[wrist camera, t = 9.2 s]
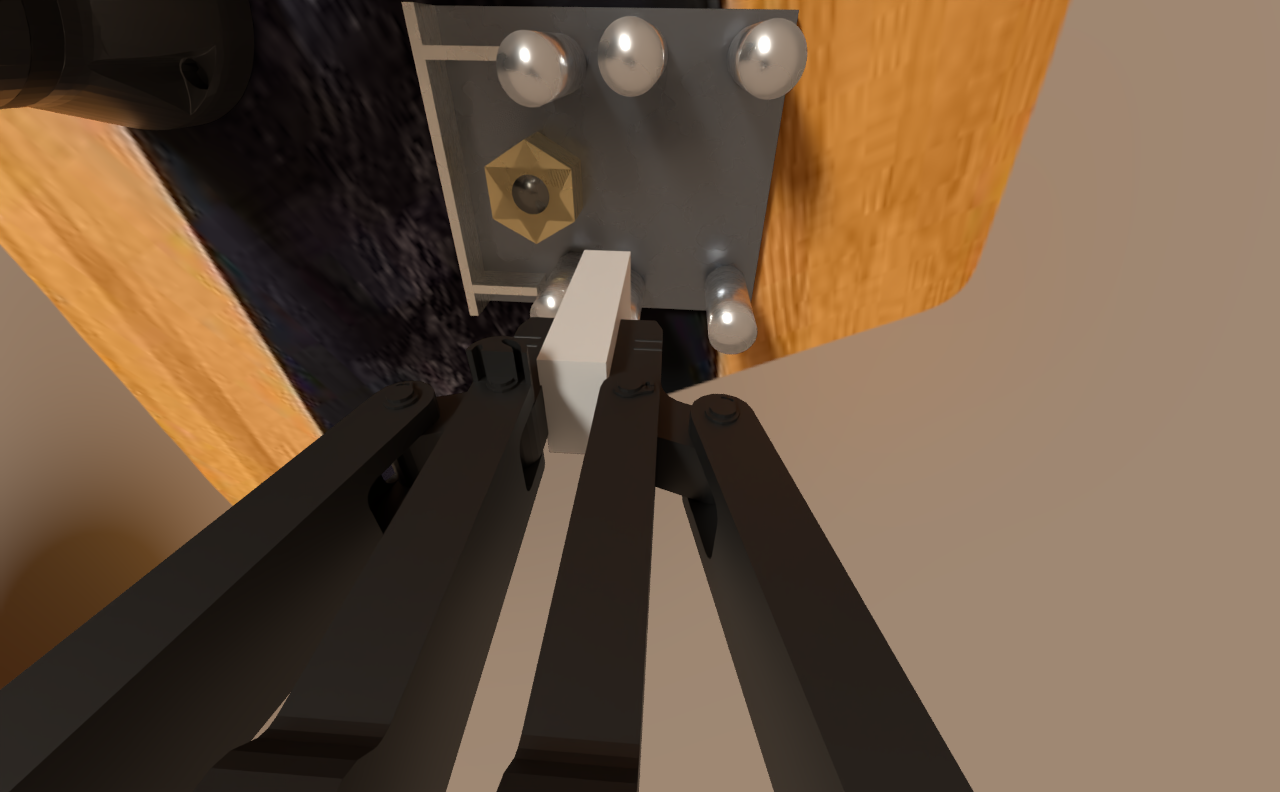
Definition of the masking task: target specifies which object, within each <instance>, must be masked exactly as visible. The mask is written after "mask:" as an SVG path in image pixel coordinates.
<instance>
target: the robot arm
mask: <svg viewBox="0 0 1280 792" xmlns="http://www.w3.org/2000/svg"><path fill="white" fill-rule="evenodd" d="M253 59H254V29H253V20H252V14H251V8H250V4H249V0H0V109H6V108H20V107H31V108H36V109H41V110H46V111H51V112H56V113H61V114H66V115H71V116H76V117H81V118H86V119H91V120H96V121H101V122H106V123H111V124H116V125H121V126H126V127H131V128H137V129H145V130H171V129H178V128H184V127H191V126H197V125H202V124H207V123H210V122H212V121H215V120H217V119H219V118H221V117H222V116H224V115H225V114H227V113H228V112H229V111H230V110H232V109H233V107H234V106H235V105H236V104H237V103H238V102H239V100H240V99H241V97H242V95H243V94H244V92H245V90H246V87H247V85H248V82H249V79H250V76H251V72H252V67H253ZM662 339H663V330H662V328H661V327H660V325H659V324H658V323H657V321H651V320H631V252H630V251H601V250H584V252H583V254H582V257H581V259H580V261H579V263H578V266H577V268H576V270H575V273H574V275H573V277H572V279H571V282H570V284H569V286H568V289H567V291H566V293H565V295H564V298H563V300H562V302H561V305H560V307H559V309H558V311H557V314H556V316H555V318H546V317H531V318H530V319H528V320H527V321H525V322H524V323H522V324H521V325H520V326H519V328H518V330H517V331H516V333H515V335H514V337H509V336H493V337H489V338H485V339H481V340H479V341H477V342H475V343H473V344H471V345H470V346H469V347H468V348H467V349H466V354H467V358H468V362H469V366H470V370H471V374H472V379H473V383H472V385H471V386H470V388H469V390H468V391H467V392H464V393H459V394H453V395H447V396H440V397H436V395H435V392H434V390H433V388H432V387H431V386H430V385H429V384H426V383H424V382H419V381H405V382H399V383H396V384H393V385H390V386H387V387H385V388H383V389H382V390H380V391H378V392H377V393H375V394H374V395H373V396H371V397H370V398H369V399H368V400H366V401H365V402H364V403H363V404H361V405H360V406H359V407H358V408H356V409H355V410H354V411H353V412H351V413H350V414H349V415H347V416H346V417H345V418H344V419H342V420H341V421H340V422H339V423H337V424H336V425H335V426H334V427H332V428H331V429H330V430H328V431H327V432H326V433H325V434H323V435H322V436H321V437H320V438H318V439H317V440H316V441H315V442H313V443H312V444H311V445H310V446H308V447H307V448H306V449H304V450H303V451H302V452H301V453H299V454H298V455H297V456H296V457H294V458H293V459H292V460H291V461H289V462H288V463H287V464H286V465H284V466H283V467H282V468H280V469H279V470H278V471H277V472H275V473H274V474H273V475H272V476H270V477H269V478H268V479H267V480H265V481H264V482H263V483H261V484H260V485H259V486H258V487H256V488H255V489H254V490H253V491H251V492H250V493H249V494H248V495H246V496H245V497H244V498H243V499H241V500H240V501H239V502H237V503H236V504H235V505H234V506H232V507H231V508H230V509H229V510H227V511H226V512H225V513H224V514H222V515H221V516H220V517H218V518H217V519H216V520H215V521H213V522H212V523H211V524H210V525H208V526H207V527H206V528H205V529H203V530H202V531H201V532H200V533H198V534H197V535H196V536H194V537H193V538H192V539H191V540H189V541H188V542H187V543H186V544H185V545H183V546H182V547H181V548H179V549H178V550H177V551H175V553H173V554H172V555H170V556H169V557H168V558H167V559H165V560H164V561H163V562H162V563H160V564H159V565H158V566H157V567H155V568H154V569H153V570H151V571H150V572H149V573H148V574H146V575H145V576H144V577H143V578H141V579H140V580H139V581H138V582H136V583H135V584H134V585H133V586H132V587H130V588H129V589H128V590H126V591H125V592H124V593H122V594H121V595H120V596H119V597H118V598H116V599H115V600H114V601H112V602H111V603H110V604H109V605H107V606H106V607H105V608H103V609H102V610H101V611H100V612H98V613H97V614H96V615H95V616H93V617H92V618H91V619H90V620H88V621H87V622H86V623H85V624H83V625H82V626H81V627H80V628H78V629H77V630H76V631H74V632H73V633H72V634H71V635H69V636H68V637H67V638H66V639H64V640H63V641H62V642H60V643H59V644H58V645H57V646H55V647H54V648H53V649H52V650H50V651H49V652H48V653H47V654H45V655H44V656H43V657H41V658H40V659H39V660H38V661H37V662H35V663H34V664H33V665H31V666H30V667H29V668H28V669H26V670H25V671H24V672H23V673H21V674H20V675H19V676H17V677H16V678H15V679H14V680H12V681H11V682H10V683H9V684H7V685H6V686H5V687H4V688H2V689H1V690H0V792H446V789H447V786H448V783H449V779H450V776H451V773H452V770H453V766H454V763H455V760H456V757H457V753H458V750H459V747H460V743H461V740H462V737H463V734H464V730H465V727H466V724H467V720H468V717H469V714H470V711H471V707H472V704H473V701H474V697H475V694H476V691H477V688H478V684H479V681H480V678H481V674H482V671H483V668H484V665H485V661H486V658H487V655H488V652H489V648H490V645H491V641H492V638H493V635H494V632H495V629H496V625H497V622H498V619H499V615H500V612H501V609H502V605H503V602H504V599H505V595H506V592H507V589H508V586H509V583H510V579H511V576H512V573H513V569H514V566H515V563H516V560H517V556H518V553H519V550H520V547H521V543H522V540H523V537H524V533H525V530H526V527H527V523H528V520H529V517H530V514H531V510H532V507H533V504H534V500H535V497H536V494H537V491H538V487H539V484H540V481H541V478H542V474H543V471H544V467H545V460H544V453H543V448H544V446H545V443H546V439H547V438H548V445H549V452H554V453H573V454H585V456H584V461H583V465H582V469H581V474H580V478H579V483H578V488H577V492H576V496H575V500H574V505H573V509H572V514H571V518H570V522H569V527H568V531H567V536H566V540H565V545H564V549H563V554H562V558H561V562H560V567H559V571H558V576H557V580H556V584H555V589H554V593H553V598H552V602H551V607H550V611H549V615H548V620H547V624H546V629H545V633H544V637H543V642H542V646H541V651H540V655H539V659H538V664H537V668H536V673H535V677H534V682H533V686H532V691H531V696H530V699H529V704H528V708H527V713H526V717H525V721H524V726H523V730H522V735H521V738H520V742H519V746H518V749H517V752H516V755H515V757H514V759H513V760H512V762H511V763H510V765H509V766H508V768H507V769H506V771H505V772H504V774H503V777H502V779H501V782H500V784H499V787H498V789H497V792H639V778H640V758H641V741H642V740H641V739H642V722H643V703H644V684H645V667H646V648H647V630H648V611H649V592H650V574H651V556H652V537H653V518H654V500H655V487H658V488H661V489H664V490H667V491H670V492H673V493H676V494H679V495H682V500H683V504H684V508H685V511H686V514H687V517H688V520H689V523H690V527H691V530H692V532H693V536H694V539H695V542H696V546H697V549H698V552H699V555H700V558H701V561H702V565H703V568H704V571H705V574H706V577H707V581H708V584H709V587H710V590H711V593H712V596H713V599H714V603H715V606H716V609H717V612H718V615H719V618H720V622H721V625H722V628H723V631H724V634H725V638H726V641H727V644H728V647H729V650H730V653H731V656H732V660H733V663H734V666H735V669H736V672H737V676H738V679H739V682H740V685H741V688H742V691H743V695H744V698H745V701H746V704H747V707H748V710H749V713H750V716H751V720H752V723H753V726H754V729H755V733H756V736H757V739H758V742H759V745H760V749H761V752H762V755H763V758H764V761H765V764H766V768H767V771H768V774H769V777H770V780H771V783H772V787H773V789H774V792H973V790H972V788H971V787H970V785H969V783H968V781H967V780H966V778H965V776H964V774H963V773H962V771H961V769H960V767H959V766H958V764H957V762H956V760H955V759H954V757H953V756H952V754H951V752H950V750H949V748H948V747H947V745H946V743H945V741H944V740H943V738H942V737H941V735H940V733H939V731H938V730H937V728H936V726H935V724H934V722H933V721H932V719H931V717H930V716H929V714H928V712H927V710H926V709H925V707H924V705H923V704H922V702H921V700H920V698H919V697H918V695H917V693H916V691H915V690H914V688H913V686H912V685H911V683H910V681H909V679H908V678H907V676H906V674H905V672H904V671H903V669H902V667H901V666H900V664H899V662H898V660H897V659H896V657H895V655H894V653H893V652H892V650H891V648H890V646H889V645H888V643H887V641H886V640H885V638H884V636H883V634H882V633H881V631H880V629H879V627H878V626H877V624H876V622H875V621H874V619H873V617H872V615H871V614H870V612H869V610H868V609H867V607H866V605H865V604H864V601H863V600H862V598H861V596H860V595H859V593H858V591H857V589H856V588H855V586H854V584H853V582H852V581H851V579H850V577H849V576H848V574H847V572H846V570H845V569H844V567H843V565H842V563H841V562H840V560H839V558H838V557H837V555H836V553H835V551H834V550H833V548H832V546H831V544H830V543H829V541H828V539H827V538H826V536H825V534H824V532H823V531H822V529H821V528H820V525H819V524H818V522H817V520H816V519H815V517H814V515H813V513H812V512H811V510H810V508H809V507H808V505H807V503H806V501H805V500H804V498H803V496H802V494H801V493H800V491H799V489H798V487H797V486H796V484H795V482H794V481H793V479H792V477H791V475H790V474H789V472H788V470H787V468H786V467H785V465H784V463H783V462H782V460H781V458H780V456H779V455H778V453H777V451H776V450H775V448H774V446H773V444H772V442H771V441H770V439H769V437H768V436H767V434H766V432H765V431H764V429H763V427H762V425H761V424H760V422H759V420H758V419H757V417H756V415H755V413H754V411H753V410H752V409H751V407H750V406H748V404H747V403H746V402H744V401H742V400H740V399H739V398H737V397H733V396H730V395H725V394H710V395H706V396H703V397H700V398H699V399H697V400H696V401H694V403H693V405H689V404H685V403H682V402H679V401H676V400H675V399H673V398H671V397H669V396H668V395H667V394H666V393H665V392H664V391H663V389H662V387H661V383H660V381H661V361H662ZM391 464H392V467H393V469H394V471H395V473H394V474H393V475H392V477H390V478H389V479H387V480H386V481H384V480H383V478H382V475H381V474H382V473H383V472H384V471H385V470H386V469H387V468H388V467H389V466H390V465H391ZM290 692H291V693H290ZM289 694H290V695H289ZM288 695H289V696H288ZM287 696H288V698H287V700H286V702H285V703H284V705H283V707H282V708H281V710H280V712H279V713H278V715H277V716H276V718H275V719H274V721H273V722H272V724H271V725H270V727H269V728H268V729H267V730H266V731H265V732H264V733H262V735H260V736H259V737H258V738H257V739H254V740H252V739H253V738H254V736H255V735H256V734H257V733H258V732H259V730H260V729H261V728H262V727H263V725H264V724H265V723H266V722H267V721H268V719H269V718H270V717H271V716H272V714H273V713H274V712H275V711H276V710H277V708H278V707H279V706H280V705H281V703H282V702H283V701H284V700H285V699H286V697H287ZM251 740H252V741H251Z"/></svg>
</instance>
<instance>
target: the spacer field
mask: <svg viewBox="0 0 1280 792" xmlns="http://www.w3.org/2000/svg"><path fill="white" fill-rule="evenodd" d="M401 3H402V7H403V12H404V16H405V21H406V25H407V30H408V34H409V39H410V44H411V48H412V53H413V57H414V62H415V66H416V71H417V75H418V80H419V85H420V89H421V94H422V98H423V103H424V107H425V112H426V116H427V121H428V126H429V130H430V135H431V139H432V144H433V148H434V153H435V157H436V162H437V167H438V171H439V176H440V180H441V185H442V189H443V194H444V198H445V203H446V207H447V212H448V217H449V221H450V226H451V230H452V235H453V239H454V244H455V248H456V253H457V258H458V262H459V267H460V271H461V276H462V280H463V285H464V289H465V294H466V299H467V303H468V308H469V312H470V315H471V316H479V315H480V313H481V312H482V311H483V309H484V308H485V307H486V305H487V304H488V303H489V302H490V301H512V302H533V305H532V307H531V310H530V317H546V318H555V316H556V314H557V311H558V309H559V307H560V305H561V302H562V300H563V298H564V295H565V293H566V291H567V289H568V286H569V284H570V282H571V279H572V277H573V275H574V273H575V270H576V268H577V266H578V263H579V261H580V259H581V257H582V254H583V252H584V250H601V251H630V252H631V320H640V315H641V309H642V308H664V309H686V310H706V311H707V323H708V336H709V341H710V343H711V345H712V346H713V347H714V348H715V349H716V350H718V351H719V352H721V353H724V354H738V353H741V352H743V351H745V350H747V349H748V348H750V347H751V346H752V344H753V343H754V342H755V340H756V337H757V326H756V322H755V318H754V314H753V310H752V306H751V299H752V293H753V287H754V281H755V275H756V268H757V262H758V256H759V250H760V244H761V238H762V232H763V226H764V220H765V214H766V208H767V201H768V195H769V189H770V183H771V177H772V171H773V165H774V159H775V153H776V147H777V141H778V135H779V128H780V122H781V116H782V110H783V104H784V98H785V94H786V93H788V92H789V91H790V90H791V89H792V88H793V87H794V86H795V85H796V84H797V82H798V81H799V79H800V78H801V76H802V74H803V71H804V68H805V65H806V61H807V44H806V40H805V37H804V35H803V33H802V31H801V30H800V28H799V27H798V26H797V19H798V13H799V10H766V9H683V8H600V7H517V6H435V5H428V4H422V3H416V2H401ZM536 132H539V133H541V134H543V135H544V136H546V137H547V138H549V139H550V140H552V141H553V142H555V143H556V144H558V145H560V146H561V147H563V148H564V149H566V150H567V151H569V152H570V153H572V154H573V155H575V156H576V157H578V158H580V159H581V176H582V194H583V209H582V211H581V212H580V214H579V216H578V217H577V219H576V220H575V222H573V223H572V224H570V225H568V226H566V227H565V228H563V229H561V230H560V231H558V232H556V233H554V234H553V235H551V236H549V237H548V238H546V239H544V240H542V241H541V242H539V243H537V244H536V243H534V242H532V241H530V240H529V239H527V238H525V237H524V236H522V235H520V234H518V233H517V232H515V231H513V230H511V229H510V228H508V227H506V226H505V225H503V224H501V223H499V222H498V221H496V220H494V219H493V216H492V210H491V204H490V198H489V192H488V186H487V180H486V174H485V168H484V167H485V166H486V165H487V164H489V163H490V162H492V161H493V160H495V159H496V158H498V157H499V156H501V155H502V154H504V153H505V152H506V151H508V150H509V149H511V148H512V147H514V146H515V145H517V144H518V143H520V142H521V141H522V140H524V139H526V138H527V137H529V136H531V135H532V134H534V133H536Z"/></svg>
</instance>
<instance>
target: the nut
mask: <svg viewBox="0 0 1280 792" xmlns="http://www.w3.org/2000/svg"><path fill="white" fill-rule="evenodd" d="M484 168H485V174H486V180H487V186H488V192H489V198H490V204H491V210H492V216H493V219H494V220H496V221H498V222H499V223H501V224H503V225H505V226H506V227H508V228H510V229H511V230H513V231H515V232H517V233H518V234H520V235H522V236H524V237H525V238H527V239H529V240H530V241H532V242H534V243H536V244H537V243H539V242H541V241H542V240H544V239H546V238H548V237H549V236H551V235H553V234H554V233H556V232H558V231H560V230H561V229H563V228H565V227H566V226H568V225H570V224H572V223H573V222H575V220H576V219H577V217H578V216H579V214H580V212H581V211H582V209H583V194H582V176H581V159H580V158H578V157H576V156H575V155H573V154H572V153H570V152H569V151H567V150H566V149H564V148H563V147H561V146H560V145H558V144H556V143H555V142H553V141H552V140H550V139H549V138H547V137H546V136H544V135H543V134H541V133H539V132H536V133H534V134H532V135H531V136H529V137H527V138H526V139H524V140H522V141H521V142H520V143H518V144H517V145H515V146H514V147H512V148H511V149H509V150H508V151H506V152H505V153H504V154H502V155H501V156H499V157H498V158H496V159H495V160H493V161H492V162H490V163H489V164H487V165H486V166H485V167H484Z"/></svg>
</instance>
